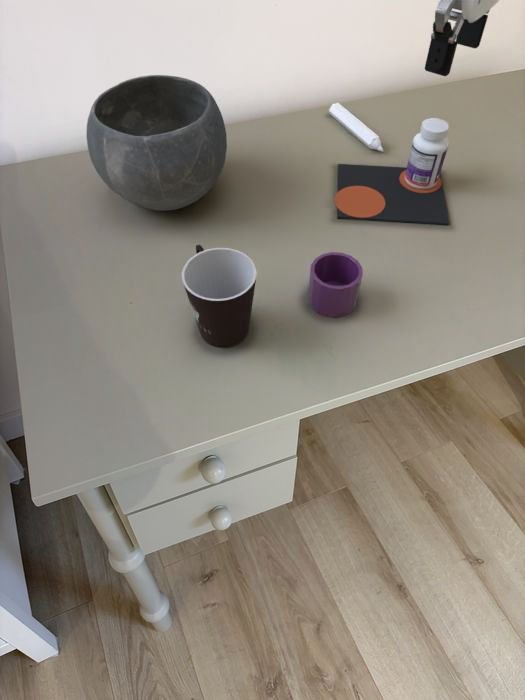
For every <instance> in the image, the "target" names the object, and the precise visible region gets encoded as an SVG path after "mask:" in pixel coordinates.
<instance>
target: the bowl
mask: <svg viewBox="0 0 525 700" xmlns="http://www.w3.org/2000/svg"><path fill="white" fill-rule="evenodd" d="M227 137H228V136H227V130H226V124H225V120H224V117H223V115H222V112H221V110H220V107H219V105H218V104H217V101H216V100H215V97H214V96H213V95H212V93H211V92H210V91H209V90H207V88H205V86H204V85H201V84H200V83H199V82H196V81H194V80H191V79H188V78H186V77H181V76H176V75H175V76H174V75H167V74H166V75H165V74H164V75H163V74H150V75H142V76H141V75H140V76H137V77H132V78H129V79H126V80H123V81H121V82H119V83H118V84H115V85H113V86H112V87H110V88H108V89H107V90H105V91H103V92H102V93H101V94H100V95H98V97H97V98H95V100H94V102H93V103H92V106H91V108H90V111H89V114H88V116H87V122H86V143H87V149H88V155H89V157H90V160H91V163H92V165H93V167H94V169H95V172H96V174H98V175H99V177H100V179H101V180H102V181H103V182H104V183H105V185H106V186H107V187H108V188H109V189H110V190H111V191H112V192H114V193H115V194H117V195H118V196H120V197H121V198H122V199H124V200H125V201H127V202H129V203H131V204H133V205H135V206H138V207H140V208H143V209H148V210H153V211H174V210H178V209H182V208H185V207H187V206H190V205H192V204H193V203H195V202H197V201H198V200H200V199H201V198H202V197H204V195H206V194H207V193H208V192H209V191H211V189H212V188H213V187H214V185H215V184H216V183H217V181H218V179H219V177H220V176H221V173H222V172H223V169H224V166H225V162H226V155H227V150H228V148H227V147H228V141H227Z"/></svg>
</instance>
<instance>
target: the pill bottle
mask: <svg viewBox="0 0 525 700" xmlns="http://www.w3.org/2000/svg"><path fill="white" fill-rule="evenodd" d="M449 129H450V124H449V123H448V121H446V120H445V119H442V118H437V117H430V118H426V119H424V120H423V121H422V122H421V126H420V131H419V132H418V133H417V134H416V135H414V137H413V140H412V144H411V148H410V153H409V156H408V161H407V164H406V168H407V169H406V173H405V181H406V182H407V183H408V184H409V185H410V186H412V187H414V188H417V189H429V188H432V187H434V186H435V185H436V184H437V182H438V179H439V176H440V175H441V172H442V169H443V165H444V161H445V158H446V155H447V152H448V148H449V146H450V145H449V139H448V137H447V136H448V133H449Z"/></svg>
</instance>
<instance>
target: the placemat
mask: <svg viewBox="0 0 525 700" xmlns="http://www.w3.org/2000/svg"><path fill="white" fill-rule="evenodd" d="M337 165H338V166H337V193H336V194H335V197H334V204H335V206H336V210H337V213H336V215H337V216H336V219H339V220H356V221H373V222H389V223H390V222H391V223H407V224H422V225H437V226H449V225H450V221H449V214H448V210H447V204H446V199H445V191H444V188H443V181H442V176H441V174H440V176H439V179H438V182H437V184H436V185H435V186H434V187H432V188H429V189H417V188H414V187H412V186H410V185H409V184H408V183H407V182H406V181H405V173H406V169H407V166H406V167H403V166H386V165H385V166H384V165H367V164H366V165H365V164H347V163H338V164H337Z"/></svg>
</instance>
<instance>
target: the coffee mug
mask: <svg viewBox="0 0 525 700" xmlns="http://www.w3.org/2000/svg"><path fill="white" fill-rule="evenodd" d="M195 252H196V253H195V254H194V255H192V256H191V257H190V258H189V259H188V260H187V261H186V262H185V264H184V266H183V268H182V271H181V281H182V284H183V287H184V290H185V293H186V295H187V299H188V301H189V304H190V307H191V310H192V313H193V316H194V319H195V322H196V325H197V328H198V330H199V333H200V336H201V338H202V340H203V341H204V342H205V343H207V344H208V345H209V346H213V347H215V348H221V349H227V348H232V347H235V346H237V345H240V343H242V342H243V341H245V339H247V336H248V334H249V332H250V325H251V318H252V310H253V303H254V297H255V296H254V295H255V289H256V281H257V275H258V273H257V267H256V263H254V260H252V259H251V258H250V256H248V255H247V254H246V253H245V252H242V251H240V250H237V249H234V248H230V247H213V248H208V249H204V247H203V246H202V245H201V244H196V245H195Z"/></svg>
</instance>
